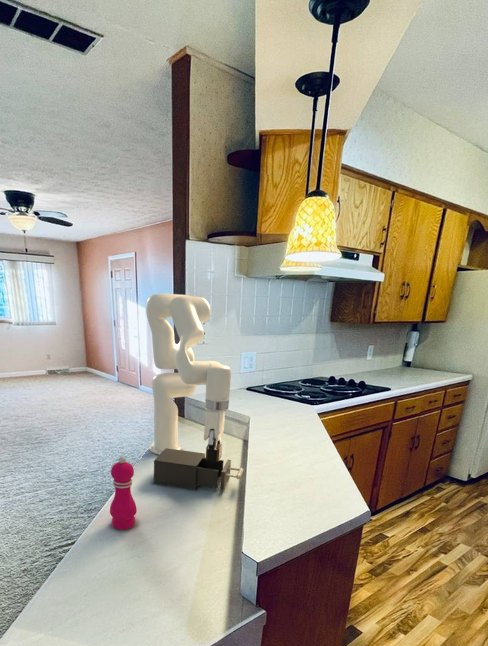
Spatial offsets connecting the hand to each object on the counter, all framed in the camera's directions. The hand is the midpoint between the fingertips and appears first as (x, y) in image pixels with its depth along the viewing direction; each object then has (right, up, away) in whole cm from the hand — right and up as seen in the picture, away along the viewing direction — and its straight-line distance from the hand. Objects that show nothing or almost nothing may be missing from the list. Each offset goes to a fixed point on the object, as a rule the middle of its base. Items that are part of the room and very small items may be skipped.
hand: (213, 457), depth 138 cm
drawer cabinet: (-12, -8, +6) cm, 15 cm away
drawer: (0, -9, +3) cm, 9 cm away
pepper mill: (-25, -19, -24) cm, 40 cm away
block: (0, 0, 0) cm, 0 cm away
